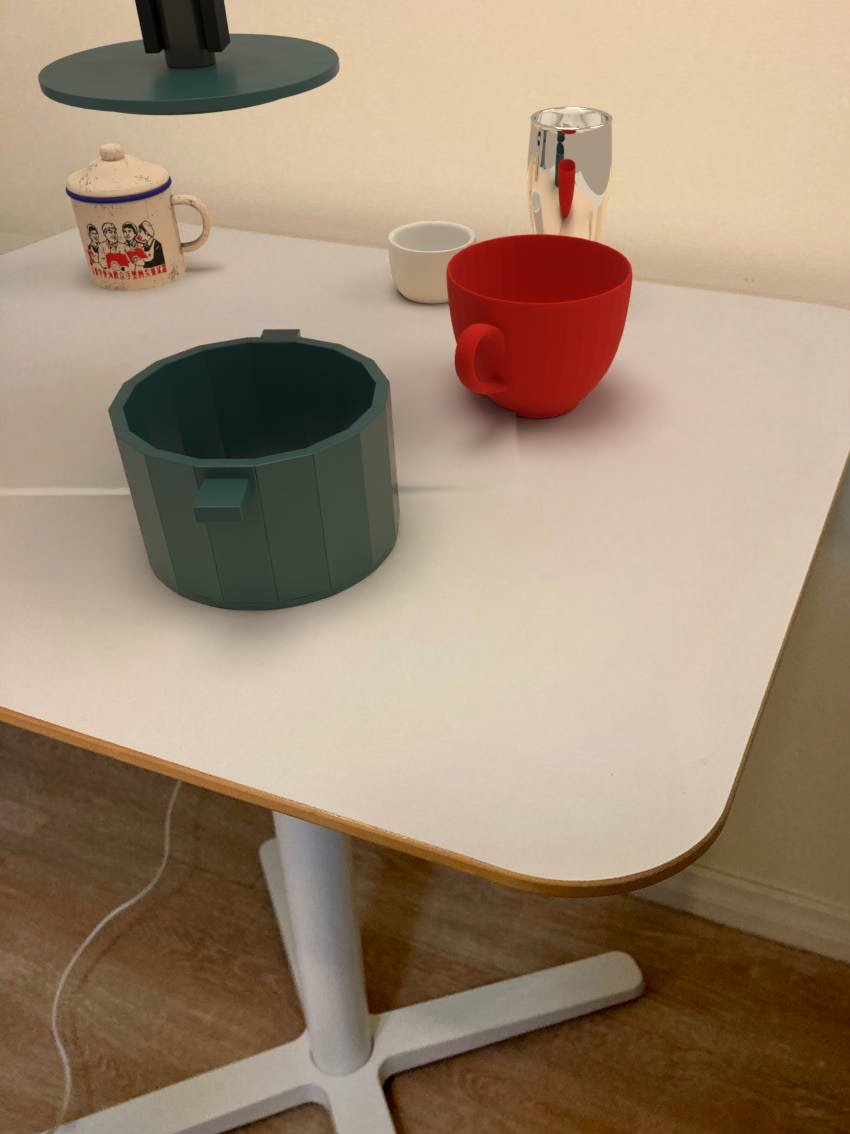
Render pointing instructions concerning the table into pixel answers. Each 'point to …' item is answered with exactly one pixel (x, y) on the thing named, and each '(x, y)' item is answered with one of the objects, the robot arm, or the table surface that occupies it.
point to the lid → (188, 70)
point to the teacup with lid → (130, 221)
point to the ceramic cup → (537, 319)
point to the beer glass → (569, 171)
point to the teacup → (426, 257)
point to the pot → (261, 468)
